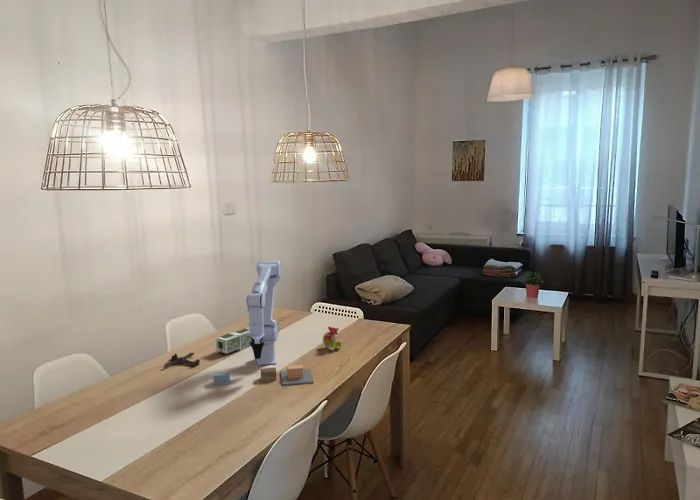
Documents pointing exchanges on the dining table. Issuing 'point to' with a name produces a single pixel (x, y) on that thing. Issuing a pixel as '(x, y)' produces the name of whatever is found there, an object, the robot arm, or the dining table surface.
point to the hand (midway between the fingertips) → (257, 355)
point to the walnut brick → (268, 374)
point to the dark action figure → (182, 360)
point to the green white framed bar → (235, 341)
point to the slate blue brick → (221, 378)
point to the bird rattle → (331, 338)
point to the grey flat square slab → (293, 381)
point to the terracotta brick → (295, 371)
